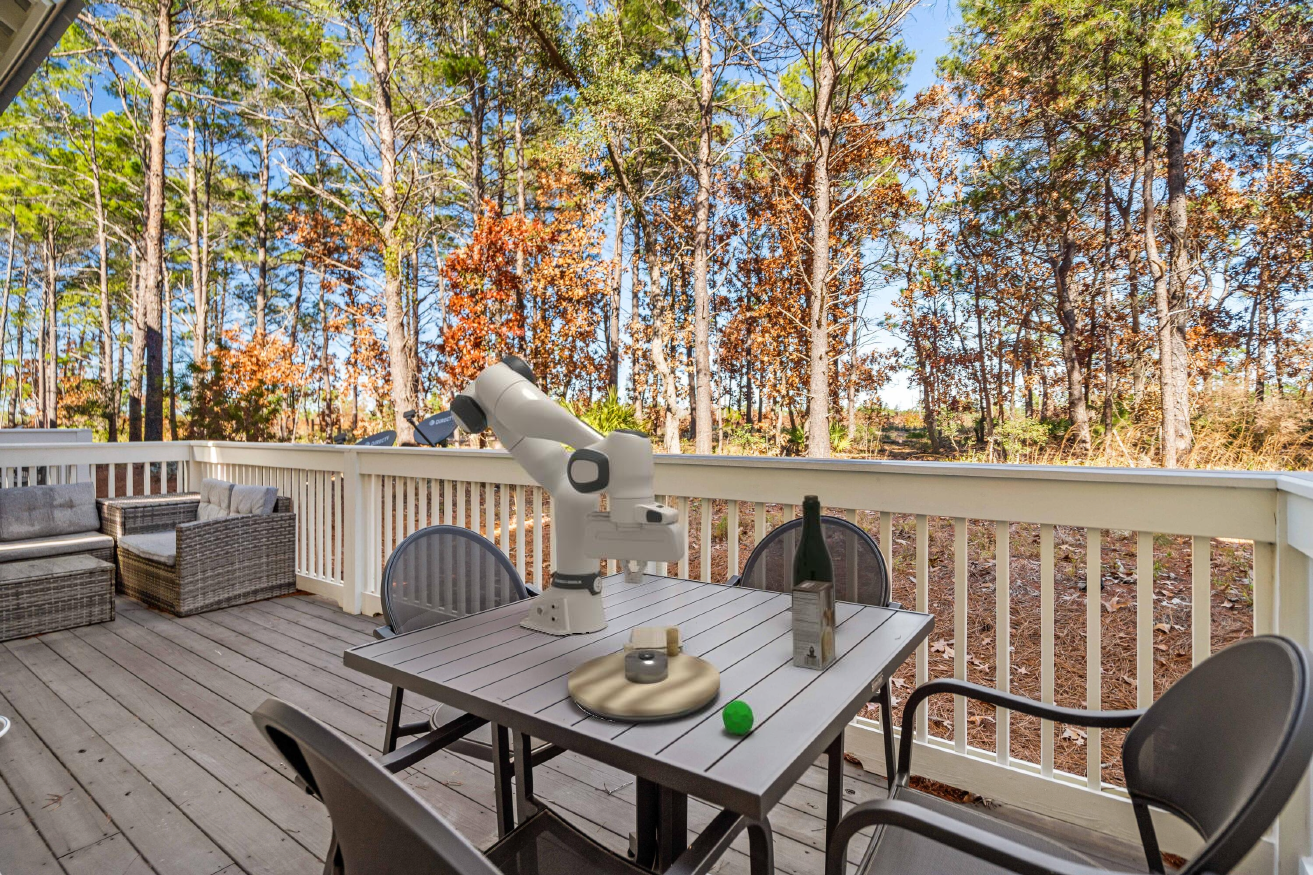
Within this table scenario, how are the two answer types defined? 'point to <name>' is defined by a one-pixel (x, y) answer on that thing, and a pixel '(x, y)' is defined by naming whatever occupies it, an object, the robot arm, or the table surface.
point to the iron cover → (646, 666)
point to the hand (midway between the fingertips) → (633, 583)
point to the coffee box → (813, 624)
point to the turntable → (614, 694)
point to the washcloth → (653, 638)
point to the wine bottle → (812, 549)
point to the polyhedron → (738, 717)
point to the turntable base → (646, 719)
